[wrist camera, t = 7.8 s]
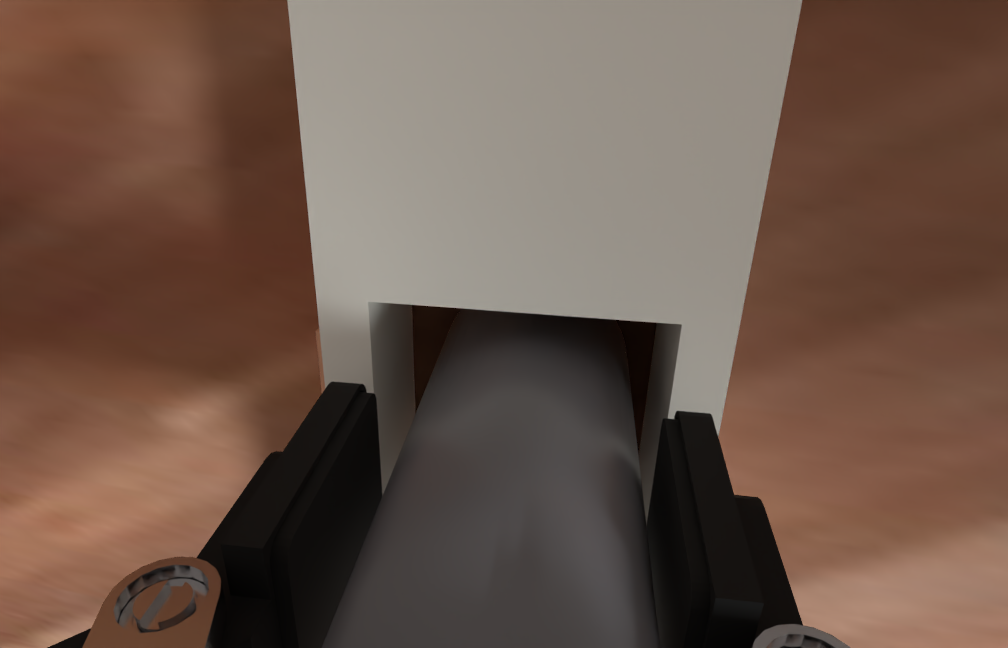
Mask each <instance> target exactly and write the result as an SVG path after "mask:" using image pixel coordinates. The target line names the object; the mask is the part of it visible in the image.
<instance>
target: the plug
mask: <svg viewBox="0 0 1008 648" xmlns="http://www.w3.org/2000/svg"><path fill="white" fill-rule="evenodd" d="M322 648H660V641H659V632H658V623H657V615H656V606H655V597H654V588H653V579H652V570H651V562H650V553H649V544H648V535H647V526H646V517H645V509H644V500H643V491H642V482H641V473H640V464H639V456H638V447H637V438H636V429H635V420H634V411H633V403H632V394H631V385H630V376H629V367H628V358H627V350H626V344H625V340H624V337H623V334H622V332H621V330H620V327H619V325H618V324H617V322H616V320H613V319H599V318H586V317H572V316H558V315H545V314H531V313H517V312H503V311H490V310H476V309H462V308H461V310H460V311H459V312H458V314H457V315H456V317H455V319H454V321H453V322H452V324H451V327H450V329H449V332H448V334H447V337H446V339H445V342H444V344H443V347H442V349H441V352H440V354H439V357H438V359H437V362H436V364H435V367H434V369H433V372H432V374H431V377H430V379H429V382H428V384H427V387H426V389H425V392H424V394H423V397H422V399H421V401H420V404H419V406H418V409H417V411H416V414H415V416H414V419H413V421H412V424H411V426H410V429H409V431H408V434H407V436H406V439H405V441H404V444H403V446H402V449H401V451H400V454H399V456H398V459H397V461H396V464H395V466H394V469H393V471H392V474H391V476H390V479H389V481H388V484H387V486H386V489H385V491H384V494H383V496H382V499H381V501H380V504H379V506H378V509H377V511H376V513H375V516H374V518H373V521H372V523H371V526H370V528H369V531H368V533H367V536H366V538H365V541H364V543H363V546H362V548H361V551H360V553H359V556H358V558H357V561H356V563H355V566H354V568H353V571H352V573H351V576H350V578H349V581H348V583H347V586H346V588H345V591H344V593H343V596H342V598H341V601H340V603H339V606H338V608H337V611H336V613H335V616H334V618H333V621H332V623H331V625H330V628H329V630H328V633H327V635H326V638H325V640H324V643H323V645H322Z"/></svg>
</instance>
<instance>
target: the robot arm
mask: <svg viewBox="0 0 1008 648" xmlns="http://www.w3.org/2000/svg"><path fill="white" fill-rule="evenodd" d="M381 499H382V480H381V463H380V447H379V430H378V414H377V400H376V395H375V394H374V393H367V391H366V388H365V385H364V384H357V383H345V382H334V381H333V382H330V383H329V384H328V385H327V387H326V388H325V390H324V391H323V393H322V394H321V396H320V397H319V399H318V400H317V402H316V403H315V405H314V406H313V408H312V409H311V411H310V412H309V414H308V415H307V417H306V418H305V420H304V421H303V423H302V424H301V426H300V427H299V429H298V430H297V431H296V433H295V434H294V436H293V437H292V439H291V440H290V442H289V443H288V445H287V446H286V448H285V449H284V451H283V452H277V451H276V452H273V453H271V454H270V455H269V456H268V457H267V458H266V459H265V461H264V462H263V464H262V465H261V467H260V468H259V469H258V471H257V472H256V474H255V475H254V477H253V478H252V479H251V481H250V482H249V484H248V485H247V487H246V488H245V489H244V491H243V492H242V494H241V495H240V497H239V498H238V499H237V501H236V502H235V504H234V505H233V507H232V508H231V509H230V511H229V512H228V514H227V515H226V517H225V518H224V519H223V521H222V522H221V524H220V525H219V527H218V528H217V529H216V531H215V532H214V534H213V535H212V537H211V538H210V539H209V541H208V542H207V544H206V545H205V547H204V548H203V549H202V551H201V552H200V554H199V555H198V557H197V558H194V557H173V558H168V559H162V560H158V561H156V562H153V563H150V564H148V565H145V566H143V567H141V568H139V569H137V570H136V571H134V572H132V573H131V574H129V575H127V576H126V577H125V578H124V579H123V580H121V581H120V582H119V583H118V584H117V585H116V586H115V587H114V588H113V589H112V590H111V592H110V593H109V595H108V596H107V598H106V599H105V601H104V602H103V604H102V606H101V608H100V611H99V613H98V615H97V617H96V619H95V621H94V624H93V626H92V628H91V629H88V630H86V631H84V632H82V633H79V634H77V635H75V636H73V637H70V638H68V639H66V640H64V641H61V642H59V643H57V644H55V645H52V646H50V647H48V648H322V645H323V643H324V640H325V638H326V635H327V633H328V630H329V628H330V625H331V623H332V621H333V618H334V616H335V613H336V611H337V608H338V606H339V603H340V601H341V598H342V596H343V593H344V591H345V588H346V586H347V583H348V581H349V578H350V576H351V573H352V571H353V568H354V566H355V563H356V561H357V558H358V556H359V553H360V551H361V548H362V546H363V543H364V541H365V538H366V536H367V533H368V531H369V528H370V526H371V523H372V521H373V518H374V516H375V513H376V511H377V509H378V506H379V504H380V501H381ZM646 526H647V535H648V544H649V553H650V562H651V570H652V579H653V588H654V597H655V606H656V615H657V623H658V632H659V641H660V648H850V647H849V646H848V645H846V644H845V643H843V642H842V641H840V640H838V639H837V638H835V637H834V636H832V635H830V634H828V633H825V632H823V631H821V630H818V629H816V628H813V627H808V626H803V624H802V621H801V618H800V615H799V612H798V609H797V605H796V602H795V599H794V596H793V593H792V590H791V587H790V584H789V581H788V578H787V575H786V572H785V569H784V566H783V563H782V560H781V557H780V554H779V551H778V547H777V544H776V541H775V538H774V535H773V532H772V529H771V526H770V523H769V520H768V517H767V514H766V511H765V508H764V505H763V503H762V501H761V500H760V499H759V498H758V497H750V496H739V495H734V493H733V489H732V486H731V482H730V479H729V475H728V471H727V468H726V464H725V460H724V457H723V453H722V450H721V446H720V442H719V439H718V435H717V431H716V428H715V424H714V420H713V417H712V415H711V414H710V413H699V412H687V411H676V413H675V416H674V419H668V418H663V420H662V425H661V431H660V438H659V444H658V451H657V458H656V465H655V471H654V478H653V485H652V491H651V498H650V505H649V512H648V518H647V525H646Z"/></svg>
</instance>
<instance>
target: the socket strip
mask: <svg viewBox="0 0 1008 648" xmlns="http://www.w3.org/2000/svg"><path fill="white" fill-rule="evenodd" d="M287 1H288V11H289V22H290V32H291V42H292V53H293V63H294V73H295V84H296V94H297V104H298V114H299V125H300V135H301V145H302V156H303V166H304V176H305V187H306V197H307V207H308V217H309V228H310V238H311V248H312V259H313V269H314V279H315V290H316V300H317V310H318V320H319V328H318V329H317V330H316V331H315V332H316V342H317V352H318V362H319V372H320V382H321V392H322V393H323V391H324V390H325V388H326V387H327V385H328V384H329V383H330V382H333V381H334V382H345V383H357V384H364V385H365V388H366V391H367V393H374V394H375V395H376V400H377V414H378V430H379V447H380V463H381V480H382V496H383V494H384V491H385V489H386V486H387V484H388V481H389V479H390V476H391V474H392V471H393V469H394V466H395V464H396V461H397V459H398V456H399V454H400V451H401V449H402V446H403V444H404V441H405V439H406V436H407V434H408V431H409V429H410V426H411V424H412V421H413V419H414V416H415V414H416V412H415V381H414V351H413V320H412V305H421V306H435V307H449V308H462V309H476V310H490V311H503V312H517V313H531V314H545V315H558V316H572V317H586V318H599V319H613V320H627V321H640V322H654V323H657V324H656V331H655V339H654V346H653V354H652V361H651V368H650V376H649V383H648V391H647V398H646V405H645V413H644V420H643V428H642V435H641V442H640V450H639V464H640V473H641V482H642V491H643V500H644V509H645V517H646V525H647V518H648V512H649V505H650V498H651V491H652V485H653V478H654V471H655V465H656V458H657V451H658V444H659V438H660V431H661V425H662V420H663V418H668V419H674V416H675V413H676V411H687V412H699V413H710V414H711V415H712V417H713V420H714V424H715V428H716V431H717V435H718V436H719V431H720V425H721V420H722V415H723V410H724V405H725V400H726V394H727V389H728V384H729V379H730V374H731V368H732V363H733V358H734V353H735V348H736V342H737V337H738V332H739V327H740V322H741V316H742V311H743V306H744V301H745V296H746V290H747V285H748V280H749V275H750V270H751V265H752V259H753V254H754V249H755V244H756V239H757V233H758V228H759V223H760V218H761V213H762V207H763V202H764V197H765V192H766V187H767V181H768V176H769V171H770V166H771V161H772V155H773V150H774V145H775V140H776V135H777V129H778V124H779V119H780V114H781V109H782V104H783V98H784V93H785V88H786V83H787V78H788V72H789V67H790V62H791V57H792V52H793V46H794V41H795V36H796V31H797V26H798V20H799V15H800V10H801V5H802V0H287Z"/></svg>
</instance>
